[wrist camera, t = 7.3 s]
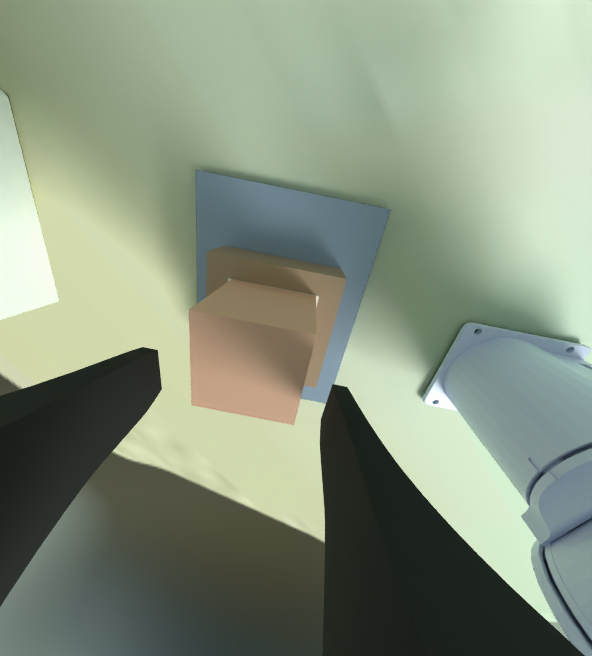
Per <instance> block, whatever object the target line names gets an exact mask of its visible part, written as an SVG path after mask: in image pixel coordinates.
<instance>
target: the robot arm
mask: <svg viewBox="0 0 592 656" xmlns="http://www.w3.org/2000/svg"><path fill="white" fill-rule="evenodd" d="M476 329H478V331H477V332H475V330H476ZM590 350H591V349H590V347H587V346H585V345H583V344H578V343H573V342H568V341H563V340H558V339H553V338H548V337H543V336H538V335H533V334H528V333H523V332H518V331H513V330H508V329H503V328H498V327H492V326H487V325H482V324H477V323H472V322H469V323H466V324H465V325H464V326H463V327H462V328H461V330H460V332H459V334H458V335H457V337H456V339H455V341H454V343H453V344H452V346H451V348H450V350H449V351H448V353H447V355H446V357H445V358H444V360H443V362H442V364H441V366H440V367H439V369H438V371H437V373H436V374H435V376H434V378H433V380H432V382H431V383H430V385H429V387H428V389H427V390H426V392H425V394H424V396H423V398H422V400H423V402H424V403H425V404H427V405H431V406H436V407H442V408H447V409H452V410H457V411H458V412H459V413H460V414H461V416H462V417H463V418H464V420H465V421H466V422H467V424H468V425H469V426H470V428H471V429H472V430H473V432H474V433H475V434H476V436H477V437H478V438H479V440H480V441H481V442H482V444H483V445H484V446H485V448H486V449H487V450H488V452H489V453H490V454H491V456H492V457H493V458H494V460H495V461H496V462H497V464H498V465H499V466H500V468H501V469H502V470H503V472H504V473H505V474H506V476H507V477H508V478H509V480H510V481H511V482H512V484H513V485H514V486H515V488H516V489H517V490H518V492H519V493H520V494H521V496H522V497H523V498H524V500H525V501H526V502H527V504H528V505H529V508H528V509H527V511H526V512H525V513H523V514H522V516H521V517H522V518H523V520H524V521H525V523H526V524H527V526H528V527H529V528H530V530H531V531H532V533H533V534H534V536H535V537H536V538H537V541H535V542H534V544H533V547H532V549H531V560H532V565H533V570H534V572H535V575H536V578H537V581H538V584H539V586H540V588H541V590H542V593H543V595H544V597H545V599H546V601H547V603H548V605H549V607H550V609H551V611H552V613H553V614H554V616H555V618H556V620H557V622H558V623H559V625H560V627H561V628H562V630H563V631H564V633H565V634H566V636H567V638H568V639H569V641H568V640H567V639H566V638H565V637H564V636H563V635H562V634H561V633H560V632H559V631H558V630H557V629H555V628H554V627H553V626H552V625H551V624H550V623H549V622H548V621H547V620H546V619H545V618H544V617H543V616H541V615H540V614H539V613H538V612H537V611H536V610H535V609H534V608H533V607H532V606H531V605H530V604H528V603H527V602H526V601H525V600H524V599H523V598H522V597H521V596H520V595H519V594H518V593H517V592H516V591H515V590H513V589H512V588H511V587H510V586H509V585H508V584H507V583H506V582H505V581H504V580H503V579H502V578H501V577H500V576H499V575H498V574H497V573H496V572H495V571H494V570H493V569H492V568H491V567H490V566H489V565H488V564H487V563H486V562H485V561H484V560H483V559H482V558H481V557H480V556H479V555H478V554H477V553H476V552H475V551H474V550H473V549H472V548H471V547H470V546H469V545H468V544H467V543H466V542H465V541H464V540H463V539H462V537H461V536H460V535H459V534H458V533H457V532H456V531H455V530H454V529H453V528H452V527H451V526H450V525H449V524H448V522H447V521H446V520H445V519H444V518H443V517H442V516H441V515H440V514H439V513H438V512H437V510H436V509H435V508H434V507H433V506H432V505H431V504H430V503H429V501H428V500H427V499H426V498H425V497H424V496H423V495H422V493H421V492H420V491H419V490H418V489H417V487H416V486H415V485H414V484H413V483H412V481H411V480H410V479H409V478H408V476H407V475H406V474H405V473H404V472H403V470H402V469H401V468H400V466H399V465H398V464H397V463H396V461H395V460H394V459H393V457H392V456H391V454H390V453H389V452H388V450H387V449H386V448H385V446H384V445H383V443H382V442H381V440H380V439H379V437H378V436H377V434H376V433H375V431H374V430H373V428H372V427H371V425H370V424H369V422H368V421H367V419H366V417H365V416H364V414H363V413H362V411H361V409H360V408H359V406H358V404H357V403H356V401H355V399H354V398H353V396H352V394H351V393H350V391H349V389H348V388H347V387H344V386H339V385H334V384H332V387H331V390H330V393H329V396H328V399H327V403H326V406H325V409H324V412H323V415H322V418H321V429H320V453H321V467H322V481H323V494H324V508H325V582H324V583H325V584H324V624H323V656H592V364H590V363H588V362H586V361H584V359H585V358H586V357H587V355H588V354H589V353H590ZM161 389H162V387H161V377H160V368H159V358H158V350H154V349H149V348H144V347H142V348H139V349H135V350H132V351H129V352H126V353H124V354H121V355H118V356H115V357H113V358H110V359H107V360H104V361H102V362H99V363H96V364H94V365H91V366H88V367H85V368H83V369H80V370H77V371H75V372H72V373H69V374H66V375H63V376H60V377H57V378H54V379H51V380H48V381H45V382H42V383H39V384H36V385H33V386H31V387H27V388H24V389H21V390H18V391H15V392H11V393H8V394H5V395H2V396H0V606H1V605H2V603H3V601H4V600H5V598H6V597H7V595H8V594H9V592H10V591H11V589H12V588H13V586H14V585H15V583H16V582H17V580H18V579H19V577H20V576H21V574H22V573H23V571H24V570H25V568H26V567H27V565H28V564H29V562H30V561H31V559H32V558H33V556H34V555H35V553H36V552H37V550H38V549H39V547H40V546H41V544H42V543H43V542H44V540H45V539H46V537H47V536H48V535H49V533H50V532H51V530H52V529H53V528H54V526H55V525H56V523H57V522H58V520H59V519H60V518H61V516H62V515H63V513H64V512H65V510H66V509H67V508H68V506H69V505H70V504H71V502H72V501H73V499H74V498H75V497H76V495H77V494H78V493H79V492H80V490H81V489H82V487H83V486H84V485H85V483H86V482H87V481H88V479H89V478H90V477H91V476H92V474H93V473H94V472H95V471H96V470H97V468H98V467H99V466H100V465H101V464H102V462H103V461H104V460H105V459H106V458H107V457H108V456H109V454H110V453H111V452H112V451H113V450H114V449H115V448H116V446H117V445H118V444H119V443H120V442H121V441H122V440H123V438H124V437H125V436H126V435H127V434H128V433H129V432H130V430H131V429H132V428H133V427H134V426H135V425H136V424H137V422H138V421H139V420H140V419H141V418H142V417H143V415H144V414H145V413H146V412H147V410H148V409H149V408H150V406H151V405H152V403H153V402H154V400H155V399H156V397H157V396H158V394H159V393H160V391H161ZM434 400H435V401H434Z"/></svg>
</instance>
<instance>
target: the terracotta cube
mask: <svg viewBox="0 0 592 656" xmlns="http://www.w3.org/2000/svg"><path fill="white" fill-rule="evenodd" d="M189 327H190V364H191V401H192V405H193V406H198V407H204V408H209V409H214V410H219V411H224V412H229V413H235V414H240V415H245V416H250V417H255V418H260V419H265V420H271V421H276V422H281V423H286V424H291V425H294V422H295V418H296V414H297V410H298V407H299V403H300V399H301V395H302V391H303V387H304V383H305V379H306V375H307V371H308V367H309V364H310V360H311V356H312V352H313V348H314V344H315V340H316V336H317V322H316V296H313V295H308V294H304V293H299V292H294V291H289V290H284V289H279V288H274V287H269V286H264V285H259V284H254V283H249V282H244V281H239V280H234V279H231V280H230V281H229V282H227V283H226V284H224V285H223V286H222V287H220V288H219V289H217V290H216V291H215V292H213V293H212V294H210V295H209V296H207V297H206V298H205V299H203V300H202V301H200V302H199V303H198V304H196V305H195V306H193V307H192V308H191V309H189Z"/></svg>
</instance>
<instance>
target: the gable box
mask: <svg viewBox="0 0 592 656" xmlns="http://www.w3.org/2000/svg"><path fill="white" fill-rule="evenodd" d="M58 301H59V298H58V294H57V290H56V286H55V282H54V278H53V274H52V270H51V266H50V262H49V258H48V254H47V250H46V246H45V242H44V238H43V234H42V230H41V226H40V222H39V218H38V214H37V210H36V206H35V202H34V198H33V194H32V190H31V186H30V182H29V178H28V174H27V170H26V166H25V162H24V158H23V154H22V150H21V146H20V142H19V138H18V134H17V130H16V126H15V122H14V118H13V114H12V110H11V106H10V102H9V98H8V97H7V95H6V94H5V93H4V92H3V91H2V90H0V320H3V319H6V318H9V317H12V316H16V315H19V314H22V313H25V312H28V311H31V310H34V309H38V308H41V307H44V306H47V305H50V304H53V303H56V302H58Z"/></svg>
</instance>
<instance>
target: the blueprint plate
mask: <svg viewBox="0 0 592 656" xmlns="http://www.w3.org/2000/svg"><path fill="white" fill-rule="evenodd" d="M390 211H391V209H386V208H381V207H376V206H371V205H367V204H362V203H357V202H352V201H347V200H342V199H337V198H332V197H327V196H322V195H317V194H313V193H308V192H303V191H298V190H293V189H288V188H283V187H278V186H273V185H268V184H264V183H259V182H254V181H249V180H244V179H239V178H234V177H229V176H224V175H219V174H214V173H210V172H205V171H200V170H196V227H197V304H198V303H199V302H200V301H202V300H203V299H205V298H206V297H207V296H209V295H210V294H212V293H213V292H215V291H216V290H217V289H219V288H220V287H222V286H223V285H224V284H226V283H227V282H229V281H230V280H231V279H234V280H239V281H244V282H249V283H254V284H259V285H264V286H269V287H274V288H279V289H284V290H289V291H294V292H299V293H304V294H308V295H313V296H316V322H317V336H316V340H315V344H314V348H313V352H312V356H311V360H310V364H309V367H308V371H307V375H306V379H305V383H304V387H303V391H302V395H301V399H306V400H311V401H317V402H322V403H327V399H328V396H329V393H330V390H331V387H332V384H334V383H335V380H336V376H337V373H338V370H339V367H340V364H341V361H342V358H343V355H344V352H345V349H346V346H347V343H348V340H349V337H350V333H351V330H352V327H353V324H354V321H355V318H356V315H357V312H358V309H359V306H360V303H361V300H362V297H363V293H364V290H365V287H366V284H367V281H368V278H369V275H370V272H371V269H372V266H373V263H374V260H375V257H376V254H377V250H378V247H379V244H380V241H381V238H382V235H383V232H384V229H385V226H386V223H387V220H388V217H389V214H390Z"/></svg>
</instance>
